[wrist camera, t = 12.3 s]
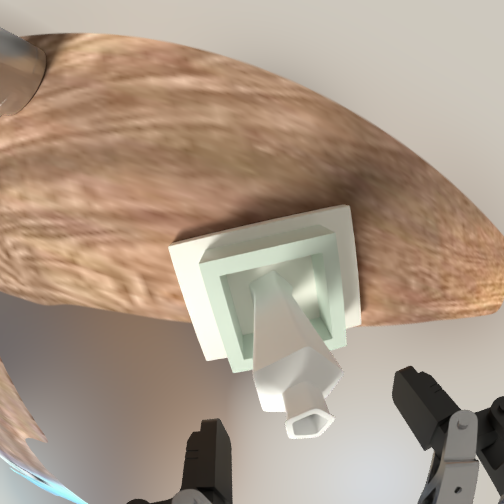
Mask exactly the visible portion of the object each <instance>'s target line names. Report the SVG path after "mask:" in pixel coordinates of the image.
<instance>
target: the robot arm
mask: <svg viewBox="0 0 504 504" xmlns="http://www.w3.org/2000/svg"><path fill="white" fill-rule="evenodd" d="M45 67H46V56H45V53H44V52H43V50H41V49H39V48H38V47H36V46H34V45H32V44H30V43H29V42H27V41H25V40H23V39H22V38H20V37H18V36H16V35H14V34H12V33H10V32H8V31H6V30H5V29H3V28H0V117H1V116H2V115H7V116H9V115H13V114H16V113H17V112H19V111H20V110H21V109H22V108H23V107H24V106H25V105H26V104H27V103H28V102H29V101H30V99H31V98H32V96H33V95H34V93H35V92H36V90H37V88H38V86H39V84H40V82H41V80H42V77H43V75H44V71H45ZM392 398H393V401H394V404H395V405H396V407H397V408H398V410H399V411H400V413H401V415H402V416H403V418H404V419H405V421H406V422H407V424H408V426H409V427H410V429H411V430H412V432H413V433H414V435H415V437H416V438H417V440H418V441H419V443H420V444H421V446H422V448H423V449H424V451H426V450H427V449H429V448H431V447H432V448H433V449H434V453H433V457H432V461H431V466H430V470H429V473H428V477H427V481H426V484H425V487H424V490H423V492H422V493H421V496H420V498H419V501H418V503H417V504H472V503H473V499H474V494H475V489H476V483H477V477H478V471H479V461H478V460H476V459H475V455H477V456H478V458H479V459H480V461H481V463H482V464H483V466H484V468H485V470H486V471H487V473H488V475H489V476H490V478H491V480H492V482H493V484H494V485H495V487H496V489H497V491H498V492H499V495H500V496H501V498H500V500H499V502H498V504H504V396H502V397H499V398H497V399H496V400H495V401H494V402H493V404H492V405H491V407H490V408H487V409H484V410H482V411H479V412H475V413H473V412H472V411H469V410H461V409H460V408H459V407H458V406H457V405H456V404H455V402H454V401H453V400H452V399H451V398H450V397H449V395H448V394H447V393H446V392H445V391H444V390H442V388H441V386H440V385H439V384H437V382H436V381H435V379H434V378H433V377H432V376H431V375H429V374H427V373H424V372H423V371H422V372H420V373H417V371H416V370H415V369H414V368H413V367H412V366H408V367H406V368H404V369H401V370H399V371H397V372H396V373H395V377H394V385H393V391H392ZM231 461H232V456H231V442H230V438H229V436H228V434H227V432H226V430H225V428H224V426H223V424H222V422H221V420H220V419H218V418H217V419H209V420H202V423H201V430H200V431H199V432H193V433H192V434H191V436H190V437H189V439H188V441H187V447H186V455H185V462H184V470H183V478H182V486H181V489H180V491H179V492H178V493H177V494H176V495H175V496H174V497H173V498H171V499H168V500H165V501H160V502H154V503H149V502H147V501H145V500H143V499H134V500H131V501H129V502H128V503H127V504H232V462H231Z"/></svg>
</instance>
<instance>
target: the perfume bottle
mask: <svg viewBox="0 0 504 504" xmlns="http://www.w3.org/2000/svg"><path fill="white" fill-rule="evenodd" d="M249 288H250V292H251V296H252V301H253V305H254V340H253V379H254V383H255V386H256V389H257V393H258V396H259V400H260V403H261V406H262V409H263V410H264V411H267V412H286V416H287V420H286V422H285V426H286V431H287V435H288V437H289V438H291V439H299V438H312V437H318V436H320V435H321V434H322V433H323V432H324V431H325V430H326V429H327V428H328V427H329V426H330V425H331V424H332V423H333V421H334V420H335V417H334V416H333V415H331V414H330V413H329V411H328V408H327V405H326V403H325V399H326V397H327V396H328V395H329V394H330V392H331V391H332V389H333V388H334V387H335V386H336V384H337V383H338V382H339V380H340V379H341V378H342V376H343V375H344V371H343V370H342V368H341V367H340V365H339V364H338V362H337V361H336V360H335V358H334V357H333V355H332V353H331V352H330V351H329V349H328V348H327V346H326V345H325V343H324V342H323V340H322V339H321V337H320V336H319V334H318V333H317V331H316V330H315V328H314V327H313V325H312V324H311V322H310V321H309V319H308V318H307V317H306V315H305V314H304V312H303V311H302V309H301V308H300V306H299V305H298V303H297V302H296V300H295V299H294V297H293V296H292V291H293V287H292V285H291V284H289V283H288V282H287V281H286V280H285V279H284V278H282V277H281V276H280V275H279V274H278V273H277V272H275V271H271V272H269V273H267V274H265V275H264V276H262V277H260V278H258V279H256V280H255V281H253V282H251V283H250V284H249Z"/></svg>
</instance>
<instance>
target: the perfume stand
mask: <svg viewBox="0 0 504 504" xmlns="http://www.w3.org/2000/svg"><path fill="white" fill-rule="evenodd" d="M168 248H169V252H170V255H171V259H172V262H173V265H174V269H175V272H176V275H177V278H178V281H179V285H180V288H181V291H182V294H183V297H184V300H185V303H186V306H187V309H188V312H189V315H190V317H191V320H192V323H193V326H194V329H195V332H196V334H197V337H198V340H199V342H200V345H201V348H202V350H203V353H204V355H205V358H206V360H207V361H210V360H216V359H221V358H227V357H228V360H229V363H230V365H231V368H232V371H233V373H237V372H242V371H248V370H253V340H254V305H253V301H252V296H251V292H250V288H249V284H250V283H251V282H253V281H255V280H256V279H258V278H260V277H262V276H264V275H265V274H267V273H269V272H271V271H275V272H277V273H278V274H279V275H280V276H281V277H282V278H284V279H285V280H286V281H287V282H288V283H289V284H291V285H292V287H293V291H292V296H293V297H294V299H295V300H296V302H297V303H298V305H299V306H300V308H301V309H302V311H303V312H304V314H305V315H306V317H307V318H308V319H309V321H310V322H311V324H312V325H313V327H314V328H315V330H316V331H317V333H318V334H319V336H320V337H321V339H322V340H323V342H324V343H325V345H326V346H327V348H328V349H329V351H331V350H334V349H337V348H341V347H344V346H347V341H346V329H348V328H351V327H354V326H357V325H361V308H360V292H359V279H358V268H357V258H356V248H355V240H354V232H353V225H352V218H351V211H350V206H348V205H344V204H343V205H338V206H333V207H328V208H323V209H318V210H313V211H309V212H304V213H299V214H294V215H290V216H285V217H281V218H276V219H271V220H267V221H262V222H258V223H254V224H249V225H245V226H240V227H236V228H232V229H227V230H223V231H219V232H215V233H211V234H206V235H202V236H198V237H194V238H190V239H186V240H182V241H178V242H174V243H171V244H170V245H169V246H168Z"/></svg>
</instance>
